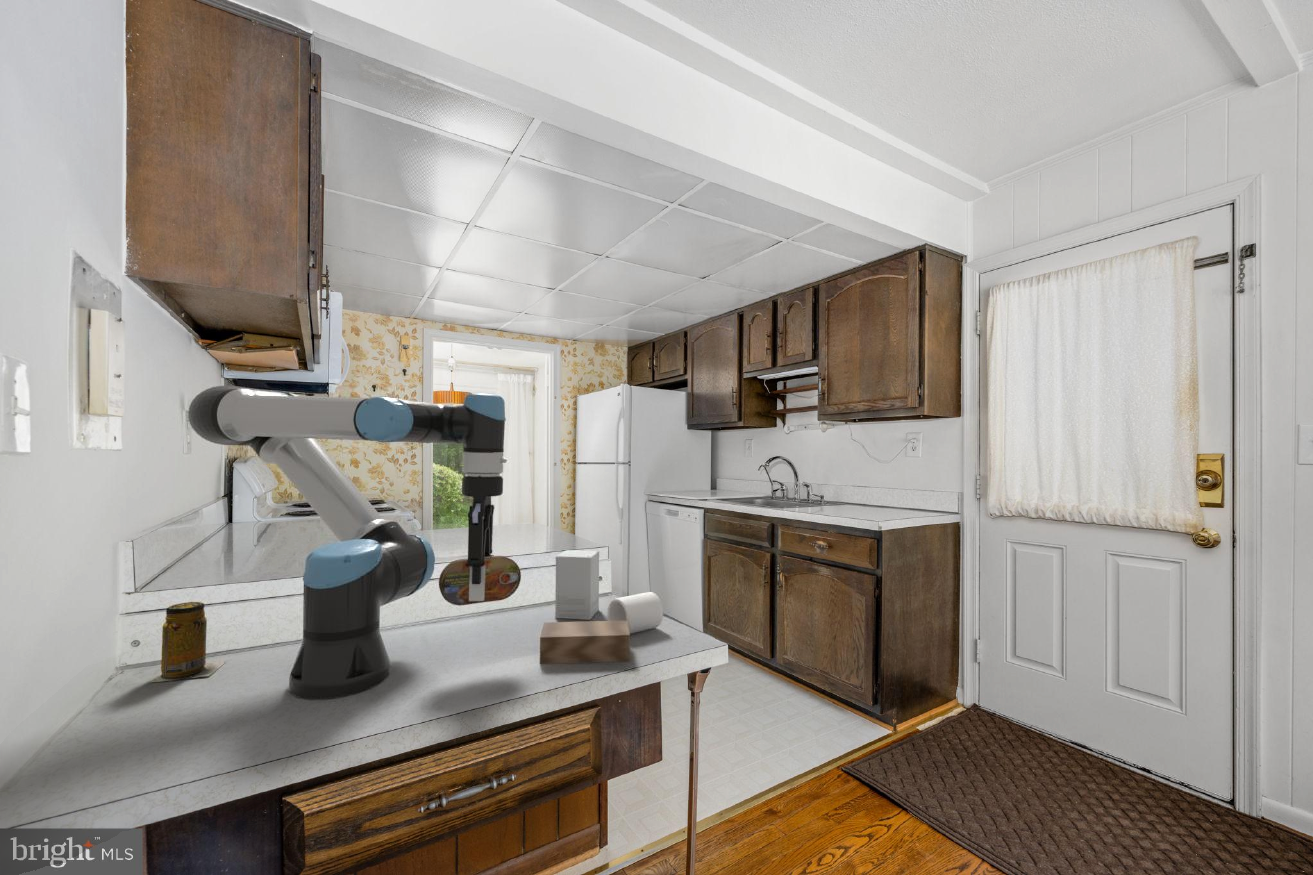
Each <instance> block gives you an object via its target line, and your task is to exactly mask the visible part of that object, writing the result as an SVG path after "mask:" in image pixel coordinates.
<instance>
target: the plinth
mask: <svg viewBox="0 0 1313 875" xmlns="http://www.w3.org/2000/svg"><path fill="white" fill-rule="evenodd" d="M630 639H631V634H630V633H629V629H628V624H627V621H608V620H595V621H591V620H589V621H558V622H557V621H556V622H555V621H553V622H551V621H549V622H543V625H542V629H541V632H540V637H539V664H540V665H547V664H548V665H551V664H553V665H554V664H578V663H579V664H581V663H584V664H585V663H610V662H612V663H613V662H614V663H615V662H630V656H631V652H630V650H631V648H630V647H631V645H630V644H631V640H630Z"/></svg>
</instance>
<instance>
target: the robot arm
mask: <svg viewBox="0 0 1313 875" xmlns="http://www.w3.org/2000/svg"><path fill="white" fill-rule="evenodd" d="M188 406H189V407H188V412H187V413H188V414H187V416H188V417H187V418H188V421H189V422H188V423H189V424H190V427H191V428H192V430H193V431H194V432H195V433H196V434H197V435H198V436H199V437H201V438H202V439H204V440H205V441H208V442H210V443H213V444H217V445H222V446H223V445H224V446H239V447H240V446H247V447H250V448H251V449H252V450H253V451H254V452H255V453H256V455H257V456H258V457H259V458H260V459H261V461H262V462H264V463H265V464H272V465H273V464H276V466H277V467H278V468H279V469H280V470H281V472H283V474H284V476H285V477H286V478H287V479H288V480H289V482H290V483H291V484H292V485H293V486H294V487H295V489H296V490H297V491H298V492H299V494H301V496H302V497H303V498H304V499H305V501H306V502H307V503H308V505H310V508H312V509H313V510H314V511H315V513H316V514H317V515H318V517H319V518H320V519H321V520H322V521H323V522H324V524H325V525H326V526H327V527H328V529H329V530H330V531H331V532H332V533H333V535H334V536H335V537H336V538H337V540H338V541H336V542H331V543H328V544H325V545H322V546H319V547H317V548H315V549H313V550H312V551H311V552H310V553H309V554H308V556H307V557H306V558H305V566H304V572H303V576H302V581H303V602H302V604H303V609H302V610H303V613H302V615H303V616H302V617H303V618H302V620H303V622H302V629H303V630H302V642H301V645H300V648H299V650H298V652H297V654H296V657H295V660H294V662H293V666H292V668H291V671H290V674H289V678H288V679H289V680H288V681H289V684H288V690H289V693H290V694H291V695H294V696H295V697H298V698H302V699H308V700H309V699H310V700H312V699H315V700H318V699H319V700H320V699H333V698H339V697H344V696H349V695H353V694H356V693H361V692H363V691H367V690H369V689H371V688H373V687H375V686H377V685H379V684H381V683H382V682H384V681H385V680H386V679H387V678H388V677H389V675H390V664H391V662H390V657H389V655H388V651H387V649H386V646H385V643H384V640H383V637H382V634H381V630H380V625H381V624H380V623H381V622H380V616H381V615H380V614H381V607H383V606H385V605H387V604H390V603H392V602H393V603H394V602H395V601H397V600H399V599H402V598H406V597H409V596H411V595H414V594H415V593H416V592H418V591H419V590H421V589H423V588H424V587H425V586H426V585H427V584H428V583H430V580H431V578H432V577H433V574H434V571H435V562H436V556H435V552H434V550H433V547H432V545H431V544H430V543H429V541H428V539H425V538H424V537H423V536H421V535H417V534H411V533H409V534H408V533H407V532H406V531H405V530H404V528H402V526H401V525H400V524H399V523H398V522H397V521H396V520H391V519H390V520H389V519H384V518H383V517H382V515H381V514H380V513H379V512H378V511H377V509H375V507H374V506H373V504H371V502H370V501H369V500H368V499H367V498H366V497H365V495H364V494H363V493H362V492H361V491H360V489H359V488H358V487H357V486H356V484H354V481H352V480H351V479H350V478H349V476H348V475H347V474H346V473H345V472H344V470H343V469H342V468H341V467H340V466H339V464H337V462H336V461H335V460H334V459H333V457H332V456H331V454H329V453H328V452H327V450H326V449H325V448H324V447H323V446H322V444H321V443H320V442H319V441H318V439H320V440H321V439H322V440H346V441H370V442H378V443H419V444H420V443H421V444H432V443H433V444H462V447H463V449H462V464H461V465H462V468H461V469H462V470H461V472H462V473H463V474H465V475H463V477H462V478H461V494H462V495H463V496H465V497H472V505H469V511H468V513H467V520H468V530H467V532H468V535H467V536H468V537H467V559H468V560H467V563H465V566H470V579H469V601H484V599H485V567H486V565H484V564H485V562H484V558H485V557H490V556H495V554H493V534H494V533H493V530H494V528H493V527H494V512H495V505H494V504H492V497H499V496H502V495H503V490H504V478H503V476H502V475H500V474H503V473H504V464H505V463H507V461H508V460H507V458H506V457H504V452H505V448H504V447H505V446H504V445H505V426H506V423H505V422H506V420H507V418H506V410H505V409H506V407H505V406H506V404H505V400H504V398H503V397H502V396H500V395H496V394H490V393H489V394H488V393H468V394H466V395H465V397H464V402H463V404H442V403H441V404H437V403H432V402H423V401H415V400H407V399H401V398H397V397H392V396H372V397H351V396H349V397H347V396H346V397H345V396H343V397H342V396H313V395H312V396H309V395H308V396H307V395H306V396H305V395H298V394H294V393H292V392H291V393H290V392H287V391H284V390H283V391H282V390H268V389H260V388H253V387H243V386H238V385H217V386H212V387H209V388H206V389H204V390H202V391H201V392H200V393H198V394H196V396H195V397H194V398H193V399H192V400H191V402H190V404H189V405H188Z"/></svg>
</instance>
